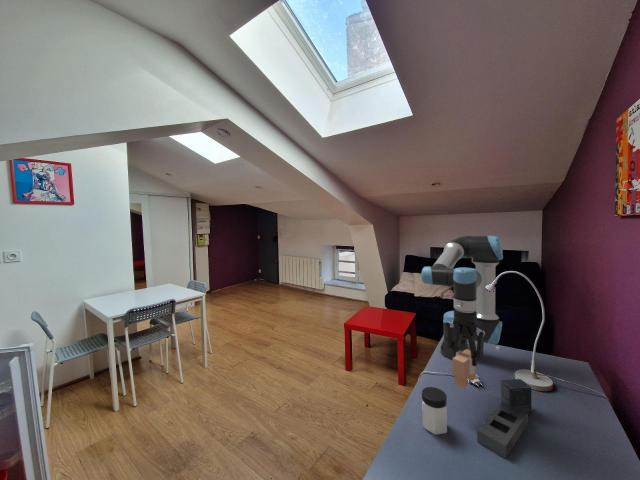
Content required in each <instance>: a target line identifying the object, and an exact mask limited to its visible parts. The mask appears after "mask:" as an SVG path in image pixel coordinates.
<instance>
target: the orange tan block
mask: <svg viewBox="0 0 640 480" xmlns="http://www.w3.org/2000/svg"><path fill="white" fill-rule="evenodd" d="M470 356H471V352H470V350H468V349H466V350H464V351H463V352H461V353H460V354H458V355H457V356H455V357H454V358H453V360H452V375H454V382H453V383H454V385H456V386H458V387H460V388H462V389H465V388H467V386H468V380H470V381H472V382H474V381H475V380H476V376H477V375H476V373H477V371H476V369H477V368H478V364H477V365H476V366H475V372H474V373H473V374H472V375H470V374H469V357H470Z"/></svg>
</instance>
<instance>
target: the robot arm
mask: <svg viewBox="0 0 640 480" xmlns="http://www.w3.org/2000/svg"><path fill="white" fill-rule="evenodd" d="M463 258H464V259H471V262H472V263H473V264H474V265H475V268H472V267H456V268H454V267H455V265H456V263H457V262H458V261H459V260H460V259H461V260H462V259H463ZM503 259H504V255H503V247H502V241H501V238H500V237H499V236H496V235H463V236H459V237H456V238H454V239H452V240H450V241H449V242H447V244H446V245H445V246H444V248H443V252H442V253H441V254H440V255H439V257H438V258H437V260H436V261H435V262H434V263H433V265H432V266H424V267H423V268H422V270H421V281H422V282H423V283H424V284H428V285H431V286H443V287H452V288H453V308H454V309H453V310H449V311H447V312H445V313H444V314H443V319H442V322H443V339H442V342H441V345H440V348H439V349H440V354H441V355H442V356H443V357H444V358H447V359H450V360H452V361H453V358H454V357H455V356H457V355H458V354H460V353H461V352H463V351H464V350H466V349H468V350H470V352H471V356H470V357H469V374H470V375H472V374H473V373H474V372H475V366H476V365H477V366H478V359H480V358H483V356H484V344H491V345H497V344H499V341H500V338H501V335H502V334H501V333H502V328H503V321H501V320H499V319H500V317H499V316H498V314H496V288H495V289H494V292H489V291H487V290H486V289H485V286H486V285H489V284H491V283H492V282H493V281H494V280H495V281H496V267H497V266H498V265H499V264H500V261H501V260H503Z"/></svg>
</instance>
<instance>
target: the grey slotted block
mask: <svg viewBox="0 0 640 480" xmlns="http://www.w3.org/2000/svg"><path fill="white" fill-rule="evenodd" d="M528 424H529V414H528V412H525V411H523V410H521V409H518V408H516V407H514V406H512V405H509V404H507V403H505V402H501V401H500V403H499V404H498V405H497V407H496V408H495V409H494V410H493V412H492V413H491V414H490V415H489V416H488V417H487V418H486V419H485V421H484V422H483V423H482V425H481V426H480V427H479V428H478V429H477V431H476V432H477V434H476V435H477V437H476V438H477V439H476V440H477V443H478V444H480V445H481V446H484V447H485V448H486V449H489V450H490V451H492V452H494V453H495V454H497V455H499V456H501V457H502V458H504V459H506V458H508V455H509V454H510V452H511V451H512V450H513V448H514V446H515V444H516V443H517V441H518V440H519V438H520V437H521V435H522V434H523V432H524V430H525V429H526V428H527V426H528Z"/></svg>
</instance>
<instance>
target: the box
mask: <svg viewBox="0 0 640 480" xmlns="http://www.w3.org/2000/svg"><path fill="white" fill-rule="evenodd" d="M500 383H501V385H500V387H501V388H500V389H501V390H500V393H501V398H500V403H501V402H505V403H507V404H509V405H512V406H514V407H516V408H518V409H521V410H523V411H525V412H528V415H532V412H533V411H532V409H533V408H532V386H530V384H528V383H527V382H525V381H524V380H523V379H521V378H515V379H514V378H513V379H501V381H500Z"/></svg>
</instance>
